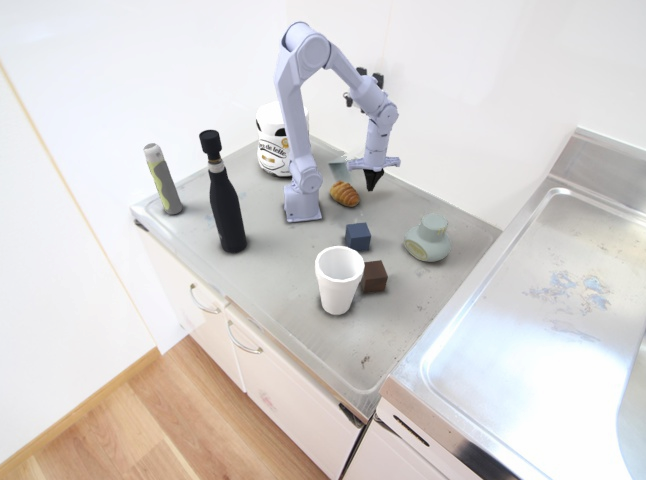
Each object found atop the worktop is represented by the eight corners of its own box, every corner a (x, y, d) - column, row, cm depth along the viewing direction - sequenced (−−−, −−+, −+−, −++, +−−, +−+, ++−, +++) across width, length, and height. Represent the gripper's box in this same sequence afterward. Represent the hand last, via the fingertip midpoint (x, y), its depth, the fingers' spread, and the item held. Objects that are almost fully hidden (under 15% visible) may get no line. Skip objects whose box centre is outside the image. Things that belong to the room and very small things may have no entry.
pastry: (364, 202, 98) (366, 192, 96) (346, 211, 96) (347, 201, 93) (344, 187, 104) (345, 176, 101) (326, 195, 101) (326, 184, 98)
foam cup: (312, 287, 78) (313, 247, 68) (352, 284, 78) (358, 244, 69) (317, 323, 72) (318, 284, 62) (361, 319, 72) (368, 280, 62)
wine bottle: (251, 239, 89) (231, 128, 67) (240, 255, 85) (215, 144, 63) (229, 233, 91) (202, 124, 68) (217, 250, 87) (185, 139, 64)
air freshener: (396, 245, 86) (404, 215, 79) (418, 232, 90) (428, 202, 82) (430, 272, 80) (442, 241, 73) (453, 256, 84) (466, 226, 76)
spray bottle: (173, 217, 96) (148, 152, 81) (162, 211, 97) (135, 147, 83) (186, 208, 98) (164, 143, 83) (175, 202, 100) (151, 138, 85)
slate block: (349, 252, 85) (351, 238, 82) (344, 238, 89) (346, 224, 85) (368, 250, 86) (371, 235, 82) (363, 236, 89) (366, 222, 85)
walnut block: (363, 293, 77) (365, 279, 73) (357, 276, 80) (359, 262, 76) (384, 291, 77) (388, 276, 73) (378, 274, 80) (381, 260, 77)
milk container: (257, 182, 106) (249, 126, 93) (261, 153, 118) (254, 100, 105) (312, 181, 106) (312, 125, 93) (311, 152, 118) (311, 98, 104)
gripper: (352, 156, 86) (348, 200, 96) (408, 151, 87) (398, 195, 97) (346, 142, 90) (342, 185, 100) (399, 138, 91) (390, 181, 102)
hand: (369, 189), depth 99 cm, fingers closed
